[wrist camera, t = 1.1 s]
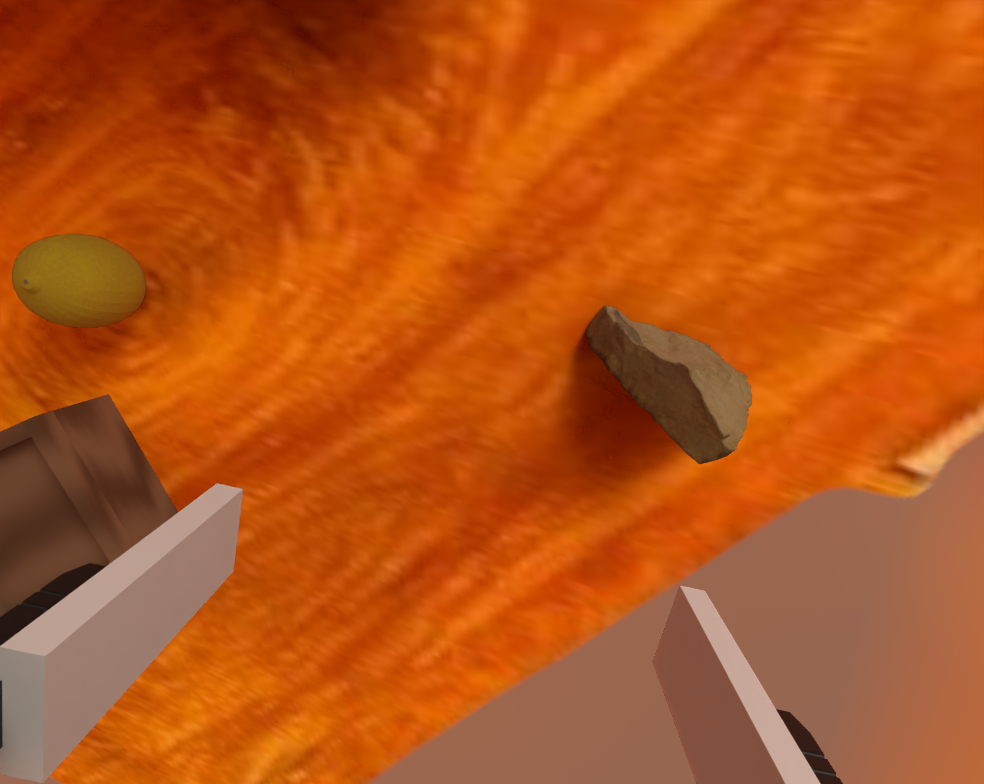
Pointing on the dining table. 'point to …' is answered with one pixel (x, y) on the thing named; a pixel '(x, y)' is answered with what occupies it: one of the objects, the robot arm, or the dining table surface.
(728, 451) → the rock
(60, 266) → the lemon
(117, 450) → the walnut block
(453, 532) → the dining table surface
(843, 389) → the dining table surface
